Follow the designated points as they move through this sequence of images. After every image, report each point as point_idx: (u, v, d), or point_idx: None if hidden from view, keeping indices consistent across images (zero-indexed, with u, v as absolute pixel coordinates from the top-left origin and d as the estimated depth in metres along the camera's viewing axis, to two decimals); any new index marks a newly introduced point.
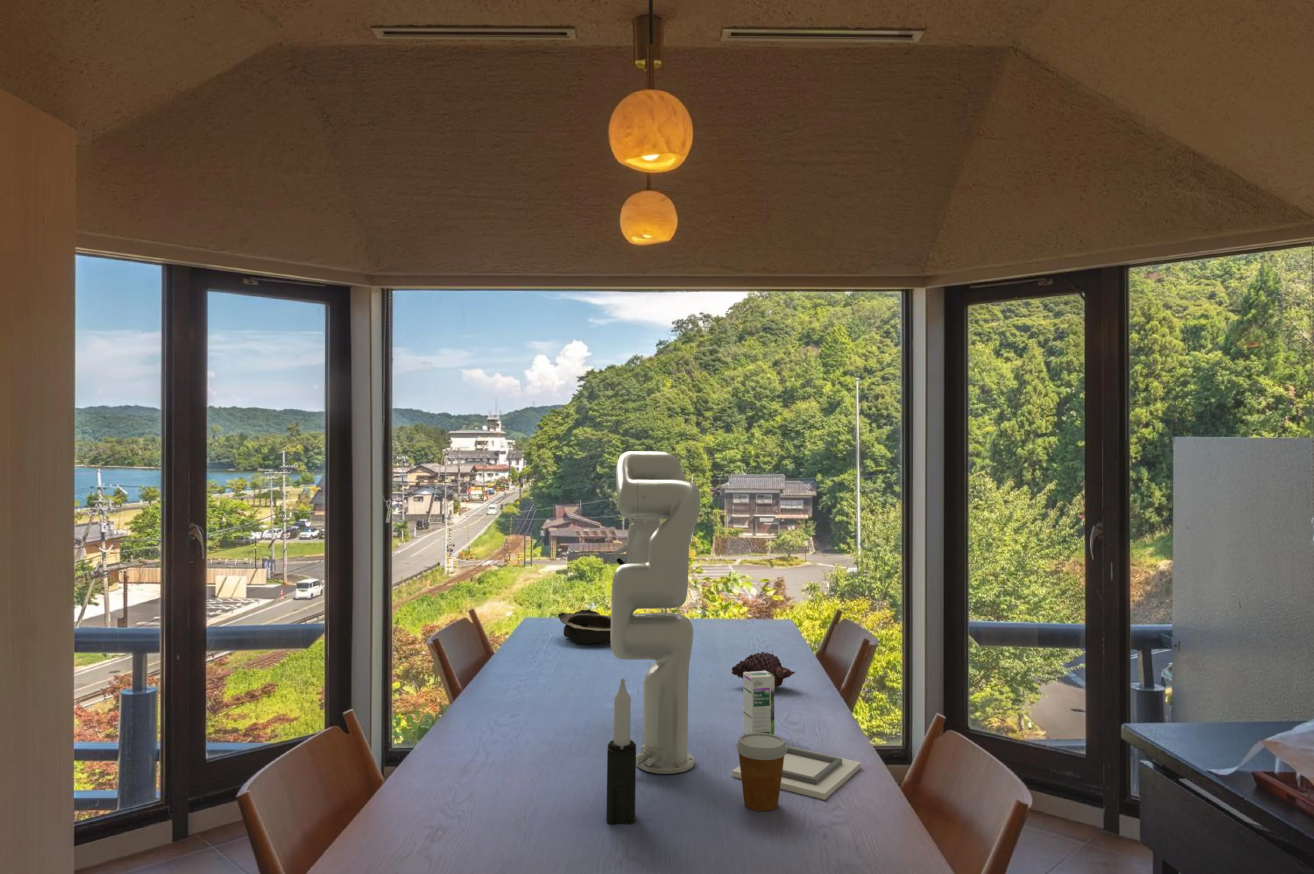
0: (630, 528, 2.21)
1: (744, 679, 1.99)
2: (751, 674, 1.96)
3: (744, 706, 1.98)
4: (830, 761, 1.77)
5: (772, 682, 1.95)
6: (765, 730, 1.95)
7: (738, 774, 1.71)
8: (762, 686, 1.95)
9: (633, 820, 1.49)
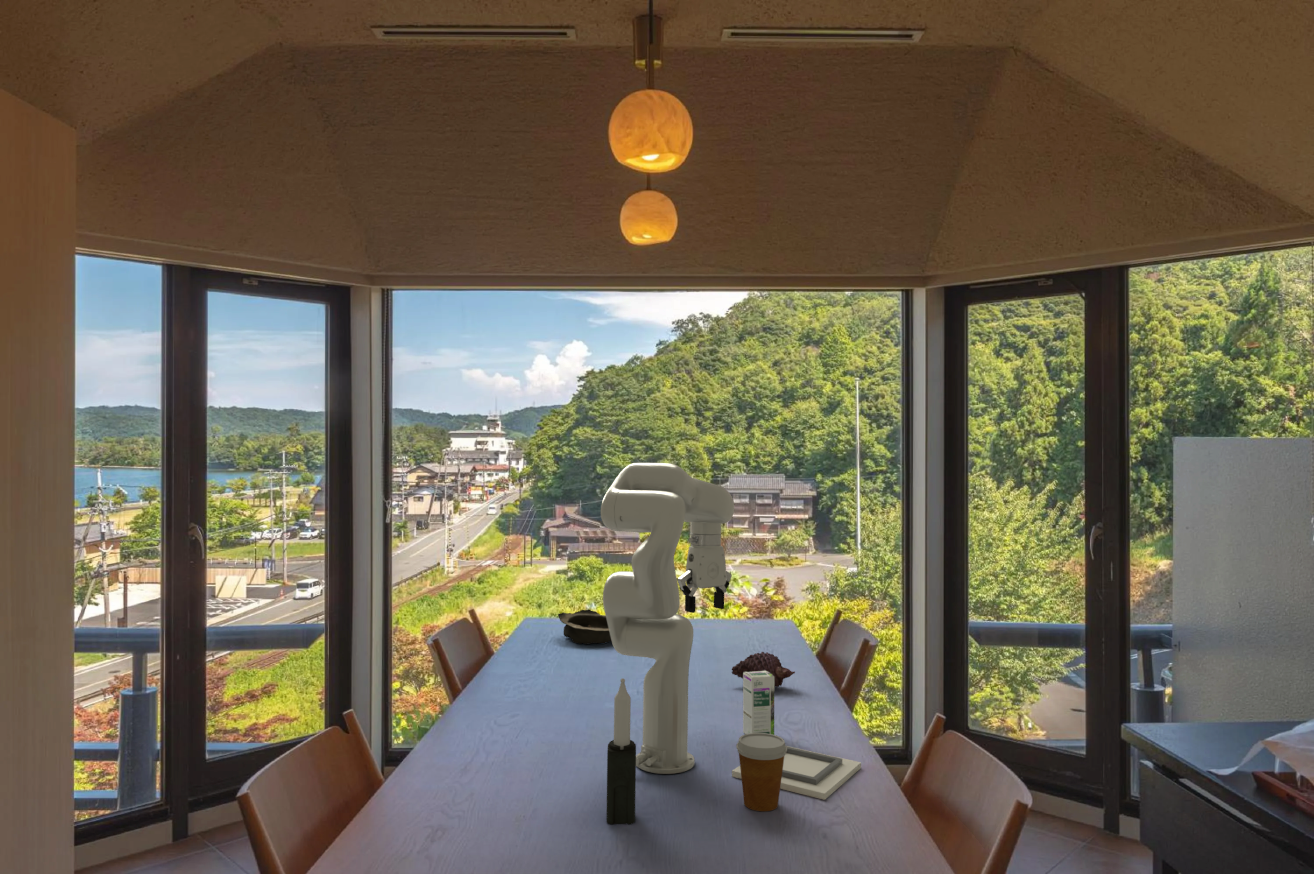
0: (698, 552, 2.05)
1: (744, 679, 1.99)
2: (751, 674, 1.96)
3: (744, 706, 1.98)
4: (830, 761, 1.77)
5: (772, 682, 1.95)
6: (765, 730, 1.95)
7: (738, 774, 1.71)
8: (762, 686, 1.95)
9: (633, 820, 1.49)
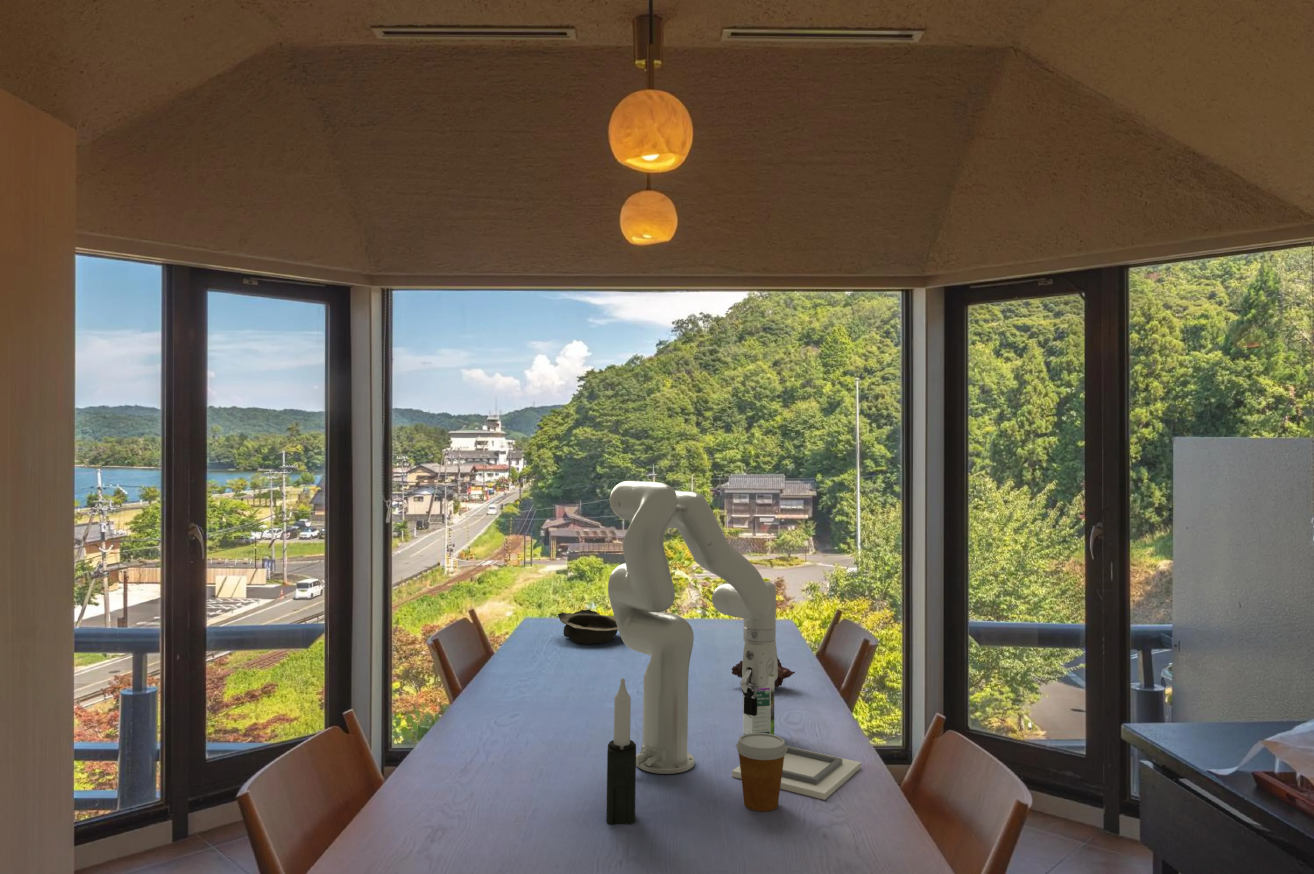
0: (758, 649, 1.93)
1: None
2: None
3: None
4: (830, 761, 1.77)
5: (772, 682, 1.95)
6: (765, 730, 1.95)
7: (738, 774, 1.71)
8: None
9: (633, 820, 1.49)
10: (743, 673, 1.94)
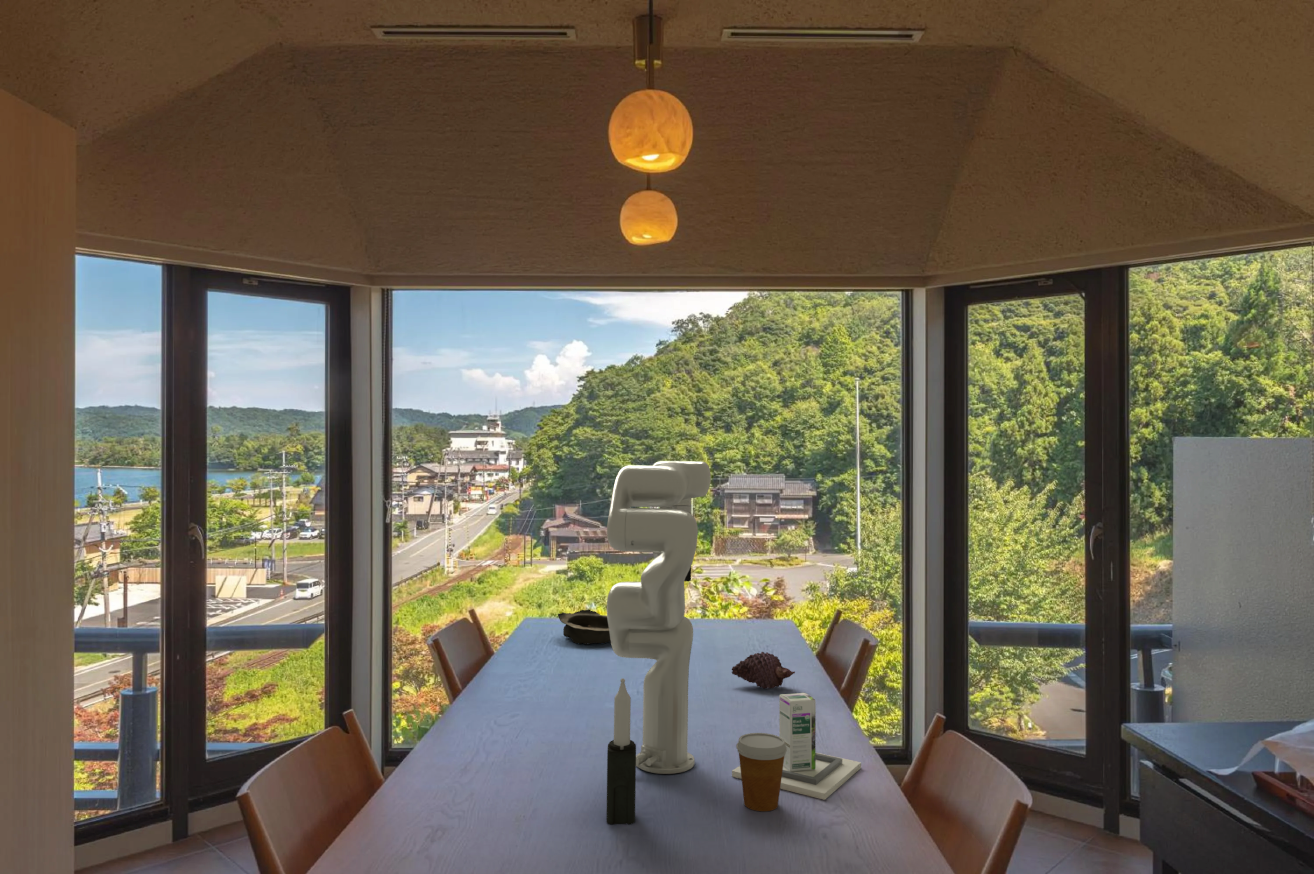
0: None
1: (781, 702, 1.76)
2: (789, 697, 1.74)
3: (781, 733, 1.76)
4: (830, 761, 1.77)
5: (813, 706, 1.73)
6: (805, 761, 1.72)
7: (738, 774, 1.71)
8: (802, 711, 1.72)
9: (633, 820, 1.49)
10: None
